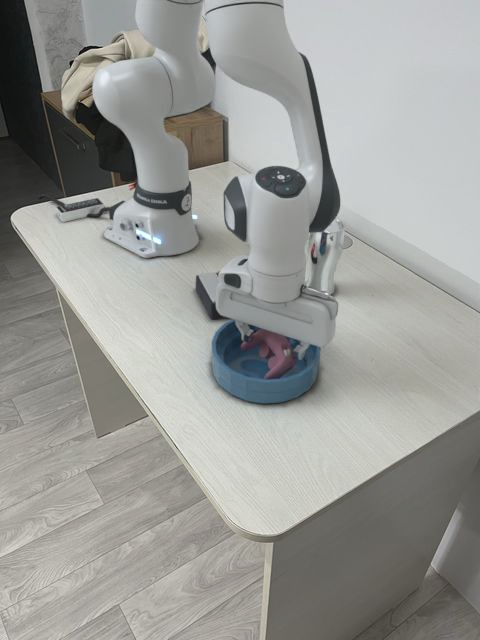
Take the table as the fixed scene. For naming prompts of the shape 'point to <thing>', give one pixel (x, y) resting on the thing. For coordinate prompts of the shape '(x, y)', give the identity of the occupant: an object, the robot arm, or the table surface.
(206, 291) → the red and gray box
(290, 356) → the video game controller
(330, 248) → the beer glass
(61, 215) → the multiport hub
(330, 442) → the table surface
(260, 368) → the blue bowl
